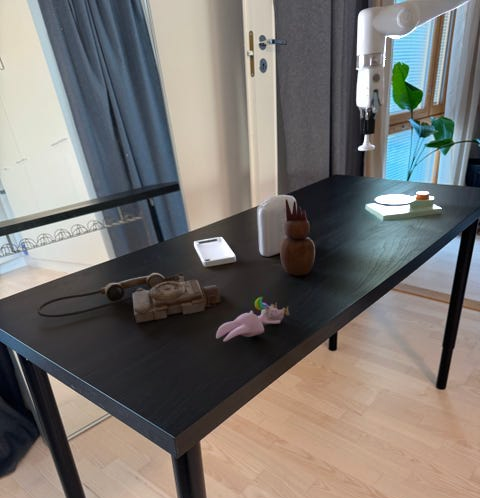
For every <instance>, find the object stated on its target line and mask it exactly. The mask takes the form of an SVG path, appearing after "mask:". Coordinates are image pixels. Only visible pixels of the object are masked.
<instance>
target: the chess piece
mask: <svg viewBox="0 0 480 498" xmlns="http://www.w3.org/2000/svg"><path fill="white" fill-rule="evenodd" d="M375 148H376V146H375V145H373V144H371V142H370V134H368V135H364V140H363V143H362V145H359V146H358V148H357V150H358V151H361V152H364V151H365V152H366V151H367V152H368V151H374V150H375Z"/></svg>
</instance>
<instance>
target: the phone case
mask: <svg viewBox="0 0 480 498" xmlns="http://www.w3.org/2000/svg"><path fill="white" fill-rule="evenodd" d="M211 240H215V241H211ZM206 241H209V242H206ZM200 242H204V243H200ZM193 246H194V247H193V248H194V249H195V251H196V253H197V255H198V257H199V259H200V261H201V263H202V266H203V267H204V268H209V267H214V266H221V265H225V264H230V263H231V264H232V263H235V262H237V258H236V257H237V256H236V254H235V253H234V252H233V250H232V248H231V247H230V246H229V244H228V242H226V240H225V239H224V238H223V237H222V236H217V237H211V238H206V239H199V240H194V241H193Z"/></svg>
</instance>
